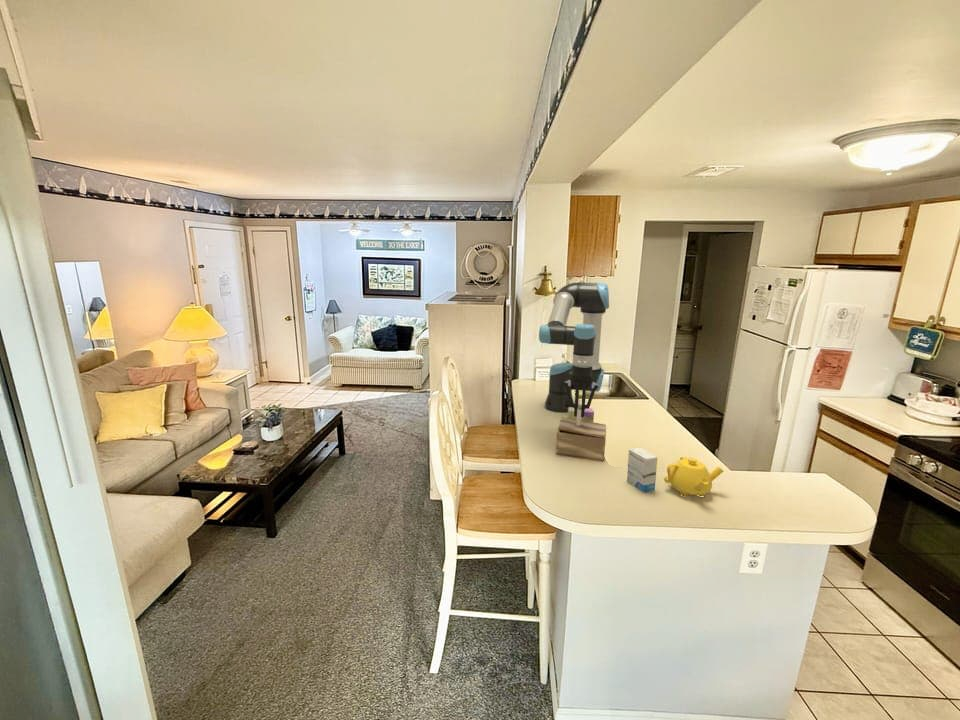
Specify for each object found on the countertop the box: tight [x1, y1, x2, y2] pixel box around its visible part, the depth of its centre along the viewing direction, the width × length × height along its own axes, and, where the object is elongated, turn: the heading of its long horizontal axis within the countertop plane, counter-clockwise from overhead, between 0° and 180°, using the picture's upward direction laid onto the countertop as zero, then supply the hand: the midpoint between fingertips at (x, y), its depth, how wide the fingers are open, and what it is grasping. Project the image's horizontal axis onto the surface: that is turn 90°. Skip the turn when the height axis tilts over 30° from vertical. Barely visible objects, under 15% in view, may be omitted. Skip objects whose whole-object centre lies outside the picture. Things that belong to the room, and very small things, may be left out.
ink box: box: [626, 447, 658, 493], centre depth 138 cm, size 9×5×12 cm, turn 19°
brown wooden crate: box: [555, 429, 607, 462], centre depth 164 cm, size 12×18×9 cm, turn 72°
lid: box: [557, 416, 607, 438], centre depth 163 cm, size 12×17×1 cm
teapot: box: [663, 456, 724, 497], centre depth 134 cm, size 14×14×11 cm
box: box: [566, 407, 595, 422], centre depth 180 cm, size 10×6×12 cm, turn 84°
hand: (578, 424), depth 163 cm, fingers closed
